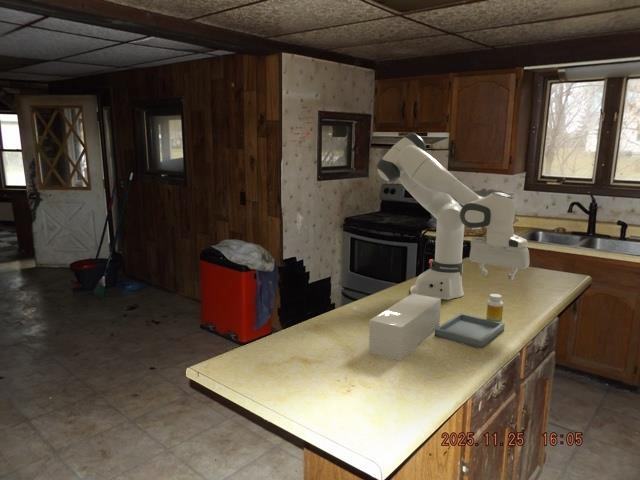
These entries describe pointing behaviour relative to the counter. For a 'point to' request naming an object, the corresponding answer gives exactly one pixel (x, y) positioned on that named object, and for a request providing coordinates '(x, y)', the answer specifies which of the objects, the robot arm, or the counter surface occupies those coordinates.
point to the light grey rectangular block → (404, 326)
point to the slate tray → (470, 330)
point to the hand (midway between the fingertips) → (497, 277)
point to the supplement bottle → (494, 308)
